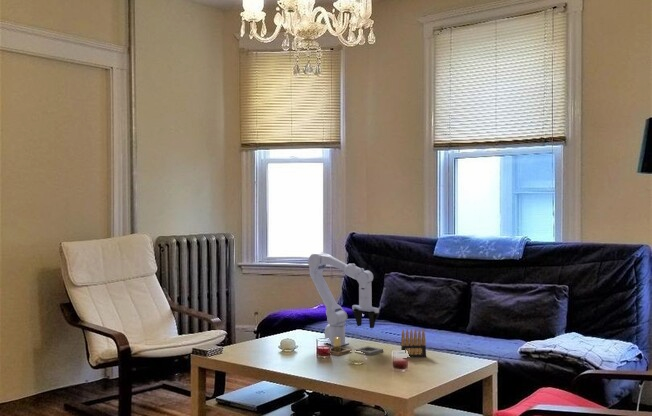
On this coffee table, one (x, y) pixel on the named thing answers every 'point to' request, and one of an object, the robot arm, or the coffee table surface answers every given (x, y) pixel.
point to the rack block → (343, 351)
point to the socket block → (374, 350)
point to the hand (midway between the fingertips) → (365, 326)
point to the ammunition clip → (415, 349)
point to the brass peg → (337, 344)
